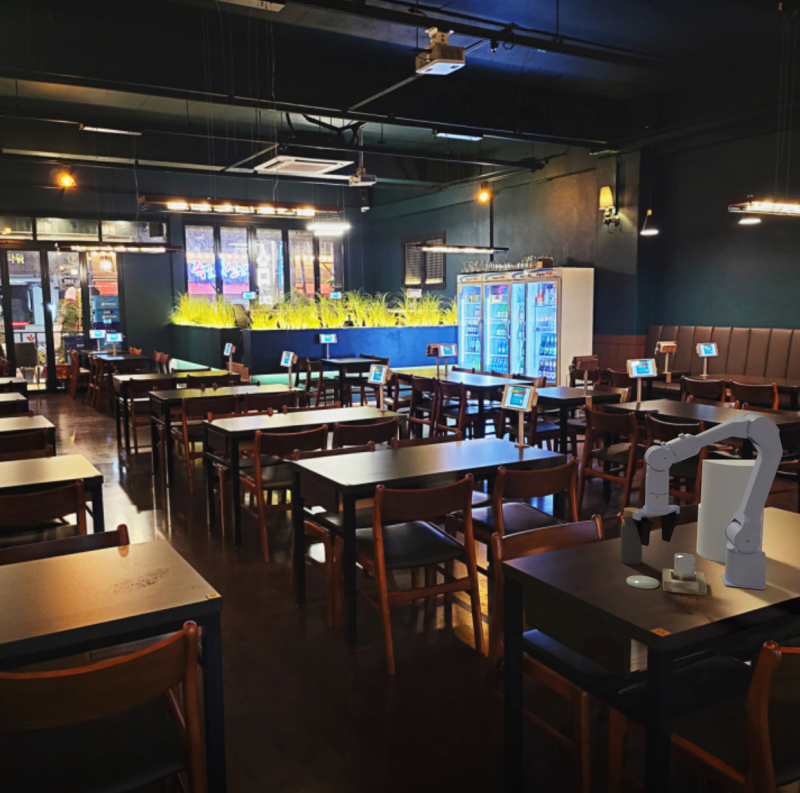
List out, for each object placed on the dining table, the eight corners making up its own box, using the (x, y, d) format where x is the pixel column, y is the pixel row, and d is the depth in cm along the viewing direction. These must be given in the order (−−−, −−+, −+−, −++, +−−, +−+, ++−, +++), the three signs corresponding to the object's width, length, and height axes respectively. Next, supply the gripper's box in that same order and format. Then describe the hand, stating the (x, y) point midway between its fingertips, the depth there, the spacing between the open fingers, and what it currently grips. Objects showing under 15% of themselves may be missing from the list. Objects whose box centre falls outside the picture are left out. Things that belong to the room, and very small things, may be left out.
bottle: (642, 565, 202) (644, 512, 200) (620, 564, 203) (622, 511, 202) (640, 558, 208) (642, 507, 206) (619, 557, 209) (620, 506, 207)
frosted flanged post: (693, 584, 188) (694, 553, 187) (694, 590, 183) (696, 560, 182) (672, 581, 189) (673, 552, 189) (673, 588, 185) (674, 557, 184)
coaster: (658, 579, 191) (658, 577, 191) (659, 590, 183) (659, 588, 183) (626, 576, 193) (626, 574, 193) (626, 586, 186) (626, 584, 186)
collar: (702, 581, 189) (703, 572, 189) (706, 595, 180) (706, 585, 180) (662, 577, 193) (662, 568, 192) (663, 590, 183) (663, 581, 183)
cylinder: (772, 564, 203) (778, 466, 200) (710, 564, 203) (715, 465, 200) (744, 545, 220) (749, 454, 217) (687, 545, 220) (691, 454, 217)
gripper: (665, 486, 196) (664, 535, 198) (624, 492, 190) (623, 542, 191) (686, 491, 190) (684, 542, 191) (644, 497, 184) (643, 550, 185)
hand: (655, 543), depth 191 cm, fingers open, 7 cm apart
